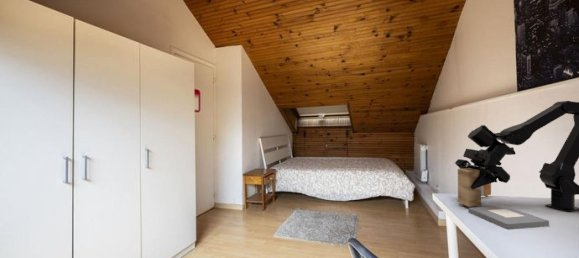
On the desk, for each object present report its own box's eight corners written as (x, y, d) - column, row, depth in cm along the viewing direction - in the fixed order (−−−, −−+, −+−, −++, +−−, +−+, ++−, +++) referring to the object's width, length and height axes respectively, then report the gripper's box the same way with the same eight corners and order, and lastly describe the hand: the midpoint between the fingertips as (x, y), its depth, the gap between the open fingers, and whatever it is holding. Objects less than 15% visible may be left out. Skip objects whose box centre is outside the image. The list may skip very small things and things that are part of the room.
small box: (484, 198, 102) (484, 166, 101) (466, 194, 107) (466, 164, 107) (491, 194, 106) (491, 164, 106) (474, 191, 111) (474, 162, 111)
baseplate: (504, 209, 89) (504, 204, 89) (549, 225, 75) (549, 220, 75) (468, 212, 87) (468, 207, 87) (507, 229, 73) (507, 223, 73)
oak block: (470, 201, 95) (469, 168, 95) (481, 205, 90) (481, 170, 90) (458, 202, 95) (457, 168, 94) (468, 206, 90) (468, 171, 89)
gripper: (458, 139, 101) (434, 167, 101) (502, 143, 83) (472, 177, 82) (476, 157, 102) (452, 185, 102) (523, 165, 84) (494, 199, 83)
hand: (465, 186), depth 92 cm, fingers closed on oak block, 5 cm apart
